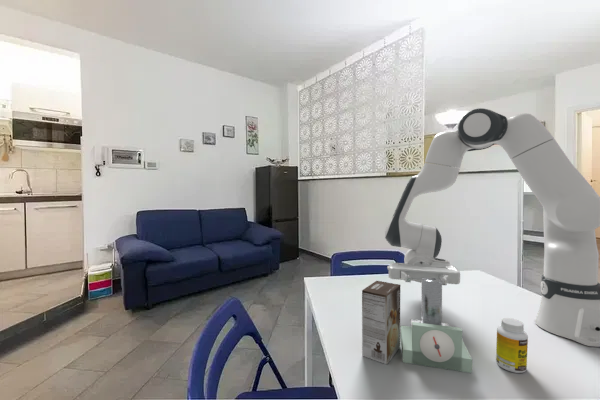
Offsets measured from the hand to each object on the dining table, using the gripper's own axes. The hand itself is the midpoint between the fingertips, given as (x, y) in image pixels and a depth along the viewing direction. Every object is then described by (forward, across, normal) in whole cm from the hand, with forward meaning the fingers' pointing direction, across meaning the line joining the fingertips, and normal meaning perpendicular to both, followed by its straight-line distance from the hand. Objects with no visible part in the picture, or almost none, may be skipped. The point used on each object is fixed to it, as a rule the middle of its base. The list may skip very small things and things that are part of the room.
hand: (425, 281), depth 83 cm
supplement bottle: (+15, +16, +13) cm, 26 cm away
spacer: (+12, 0, +8) cm, 14 cm away
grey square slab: (+12, 0, +10) cm, 16 cm away
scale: (+14, 0, +13) cm, 19 cm away
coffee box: (+17, -12, +14) cm, 24 cm away
